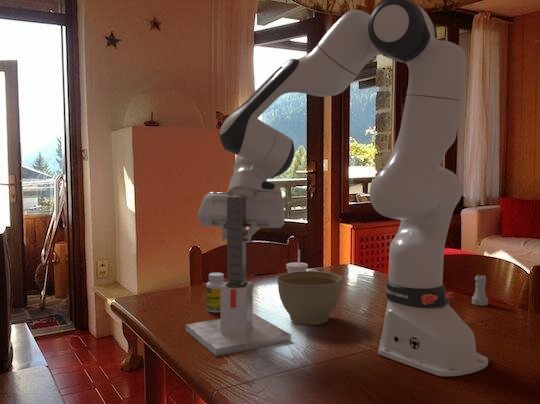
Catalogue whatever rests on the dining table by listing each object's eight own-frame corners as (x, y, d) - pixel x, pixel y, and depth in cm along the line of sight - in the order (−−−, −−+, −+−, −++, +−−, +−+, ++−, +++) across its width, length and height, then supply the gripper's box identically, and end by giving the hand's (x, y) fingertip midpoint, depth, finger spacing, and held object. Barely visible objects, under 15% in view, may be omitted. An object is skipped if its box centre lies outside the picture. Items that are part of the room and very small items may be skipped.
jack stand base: (253, 319, 130) (253, 269, 129) (291, 341, 115) (291, 284, 114) (185, 330, 121) (185, 277, 120) (216, 356, 106) (215, 294, 105)
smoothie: (308, 299, 148) (308, 251, 147) (286, 299, 149) (286, 251, 147) (307, 294, 155) (307, 247, 154) (285, 293, 155) (286, 247, 154)
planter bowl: (322, 308, 140) (323, 268, 139) (353, 325, 125) (353, 281, 124) (267, 314, 135) (267, 273, 134) (292, 333, 120) (292, 287, 119)
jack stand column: (246, 300, 119) (246, 196, 117) (242, 305, 115) (242, 197, 113) (231, 299, 120) (230, 195, 118) (226, 304, 116) (225, 197, 114)
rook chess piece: (485, 302, 147) (486, 274, 146) (490, 306, 142) (491, 277, 142) (469, 301, 147) (470, 273, 146) (473, 306, 143) (474, 277, 142)
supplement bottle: (202, 311, 137) (202, 274, 136) (213, 306, 142) (213, 271, 141) (219, 314, 135) (219, 277, 134) (230, 308, 139) (230, 273, 139)
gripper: (201, 183, 124) (188, 229, 115) (286, 184, 120) (278, 232, 111) (207, 200, 129) (195, 246, 120) (288, 202, 125) (282, 249, 116)
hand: (236, 239), depth 116 cm, fingers closed on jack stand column, 3 cm apart
